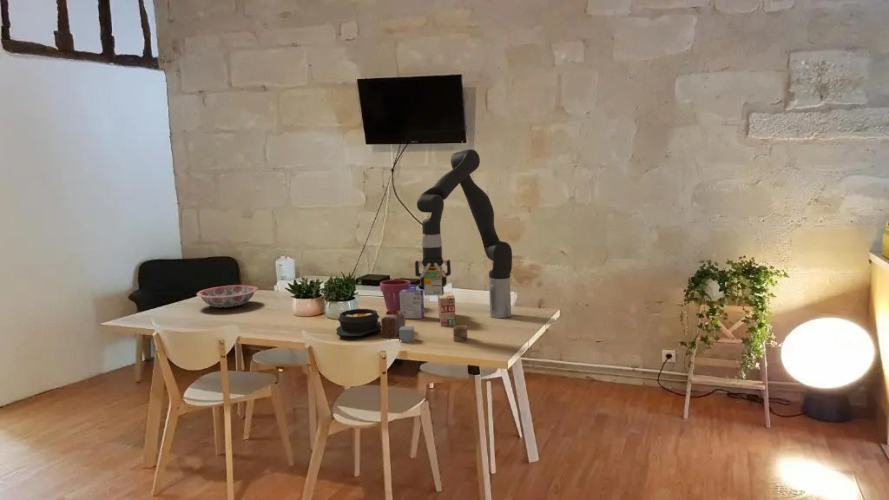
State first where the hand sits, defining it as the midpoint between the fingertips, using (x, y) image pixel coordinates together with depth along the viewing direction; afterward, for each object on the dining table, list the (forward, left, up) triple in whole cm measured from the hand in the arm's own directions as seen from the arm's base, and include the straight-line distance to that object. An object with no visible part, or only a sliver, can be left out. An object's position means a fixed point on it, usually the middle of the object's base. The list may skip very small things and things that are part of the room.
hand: (433, 286), depth 272 cm
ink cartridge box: (+13, -31, -20) cm, 39 cm away
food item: (+17, -4, -20) cm, 27 cm away
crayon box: (0, 0, -4) cm, 4 cm away
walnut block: (-10, +7, -20) cm, 24 cm away
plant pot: (+23, -49, -20) cm, 58 cm away
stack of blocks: (-3, -25, -20) cm, 32 cm away
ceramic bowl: (+109, -60, -20) cm, 126 cm away
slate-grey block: (+11, +7, -20) cm, 24 cm away
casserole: (+32, -6, -20) cm, 38 cm away
